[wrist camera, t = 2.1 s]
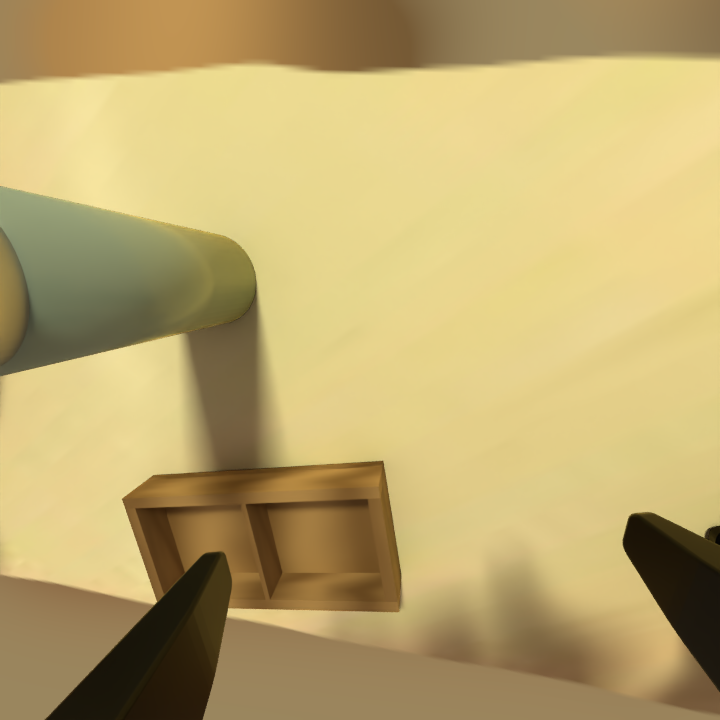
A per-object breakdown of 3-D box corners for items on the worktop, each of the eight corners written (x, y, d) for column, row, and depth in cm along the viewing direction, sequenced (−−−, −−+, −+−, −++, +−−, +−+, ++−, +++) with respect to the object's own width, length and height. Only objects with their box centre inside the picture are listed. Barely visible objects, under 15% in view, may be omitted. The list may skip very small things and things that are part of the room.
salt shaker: (244, 225, 18) (-118, 115, 6) (264, 317, 19) (-8, 386, 7) (165, 242, 19) (-291, 178, 7) (187, 329, 20) (-173, 409, 8)
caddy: (383, 461, 20) (378, 486, 18) (401, 574, 22) (399, 612, 19) (153, 475, 23) (122, 498, 21) (184, 573, 25) (158, 606, 23)
